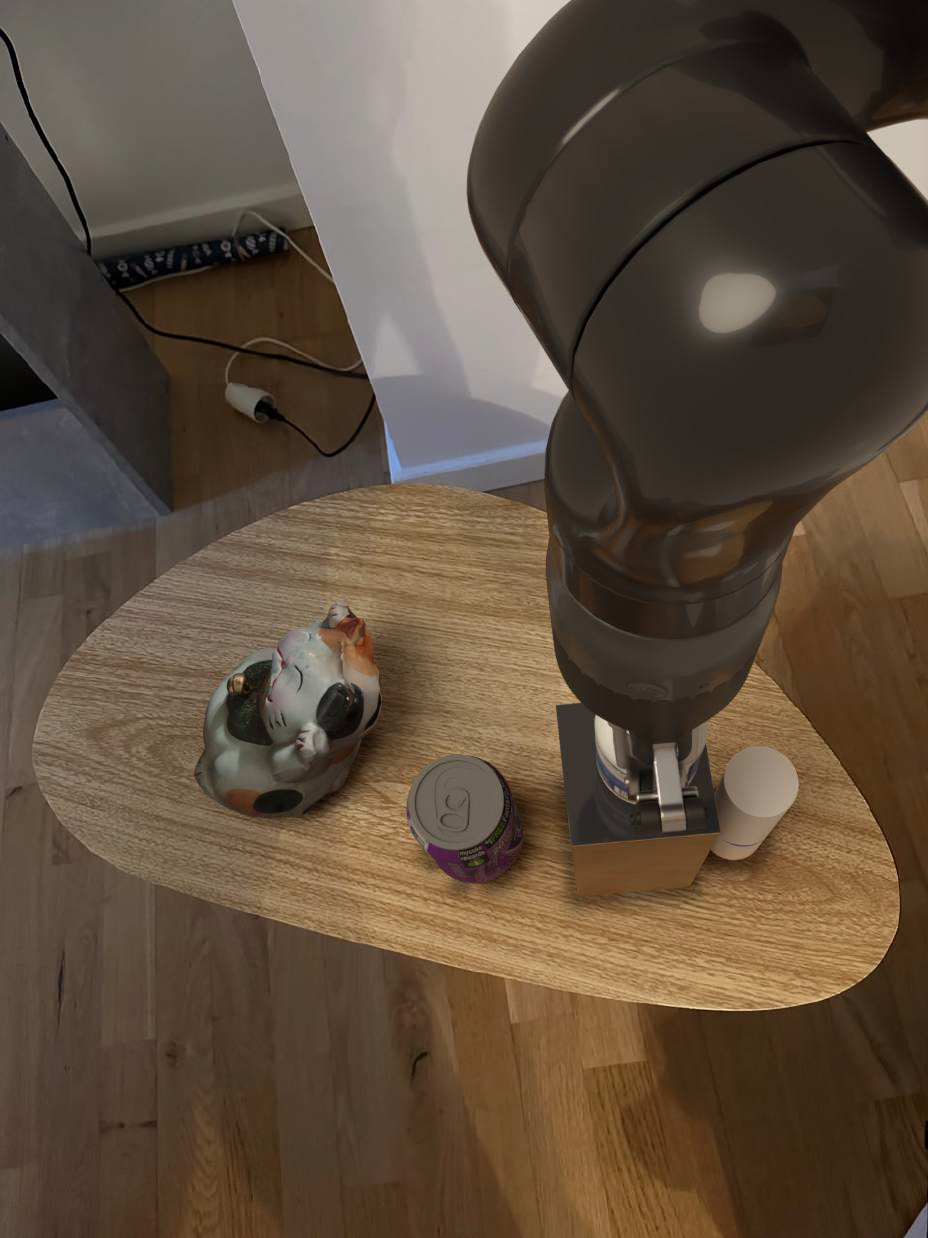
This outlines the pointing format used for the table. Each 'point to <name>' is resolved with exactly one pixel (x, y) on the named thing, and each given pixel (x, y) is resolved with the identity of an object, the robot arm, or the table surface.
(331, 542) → the table surface
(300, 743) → the lucky cat figurine
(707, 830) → the slate coaster
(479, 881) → the beverage can
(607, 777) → the pill bottle
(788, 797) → the tube
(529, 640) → the table surface
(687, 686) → the robot arm
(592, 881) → the walnut plinth
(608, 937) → the table surface
